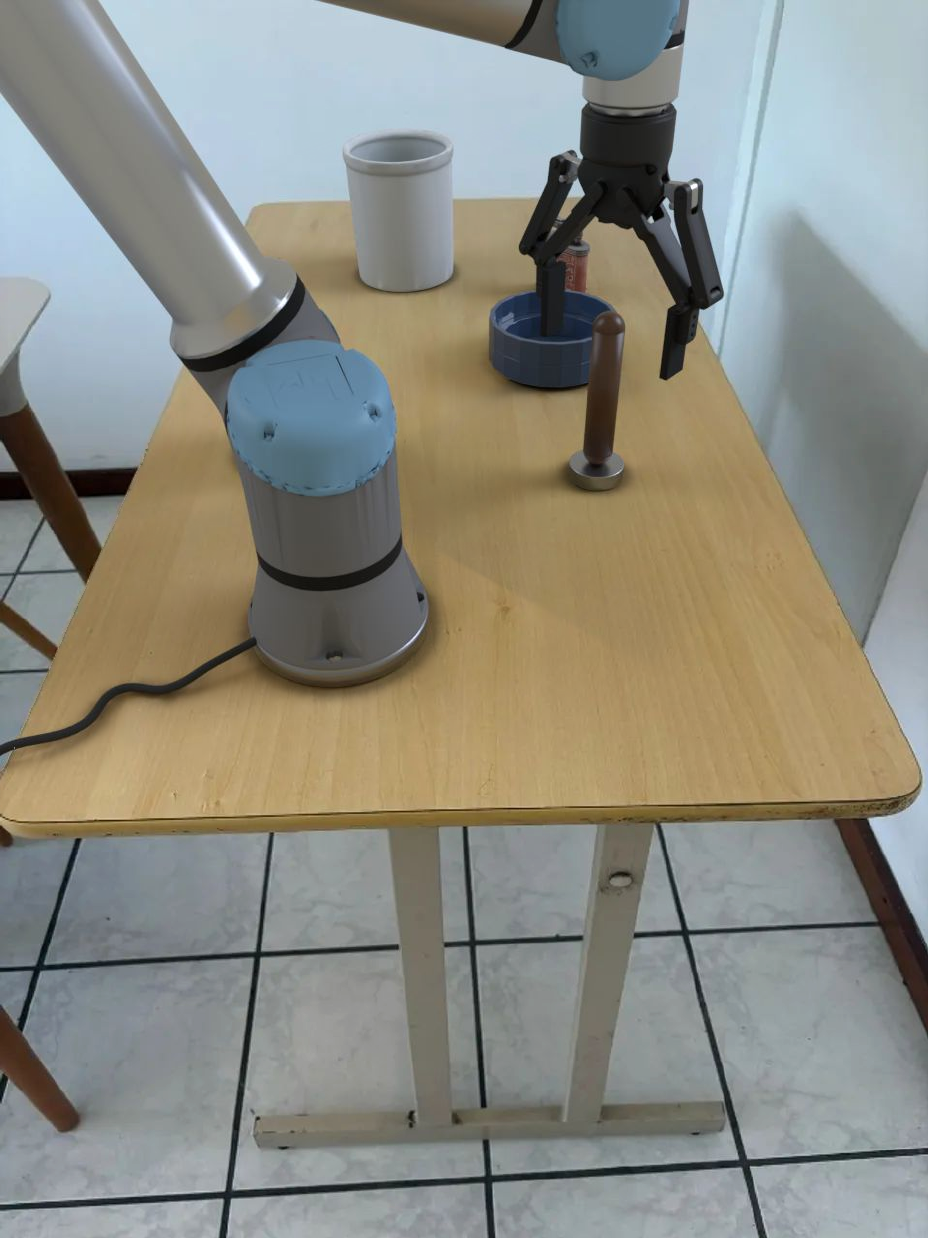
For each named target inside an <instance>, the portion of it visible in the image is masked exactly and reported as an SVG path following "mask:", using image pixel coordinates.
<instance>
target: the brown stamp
mask: <svg viewBox="0 0 928 1238" xmlns="http://www.w3.org/2000/svg"><path fill="white" fill-rule="evenodd" d="M625 336H626V323H625V320H624V318H623V317H622V315H621V314H619V313H618V312H617V313H616V312H613V311H606V312H603V313H601V314H600V315H598V316H597V318H596V319H595V321H594V323H593V329H592V342H591V355H590V367H589V380H588V382H587V392H586V393H587V394H586V408H585V419H584V420H585V421H584V431H583V432H584V433H583V445H582V449H581V450H577V451H576V452H574V453H573V454H572V455H571V456H570V458H569V460H568V479H569V480H570V482H571V483H572V484H574V485H575V486H577V487H579V488H581V489H583V490H584V489H585V490H587V491H599V492H600V491H607V490H611V489H614V488H616V487H617V486H619V485H620V484H621V483H622V481H623V479H624V472H625V471H624V470H625V461H624V459H623V457H622V456H621V455H620V454H618V453H617V452H615V451H614V442H615V434H616V423H617V414H618V404H619V394H620V386H621V385H620V384H621V377H622V368H623V367H622V366H623V357H624V347H625V338H626V337H625Z"/></svg>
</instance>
